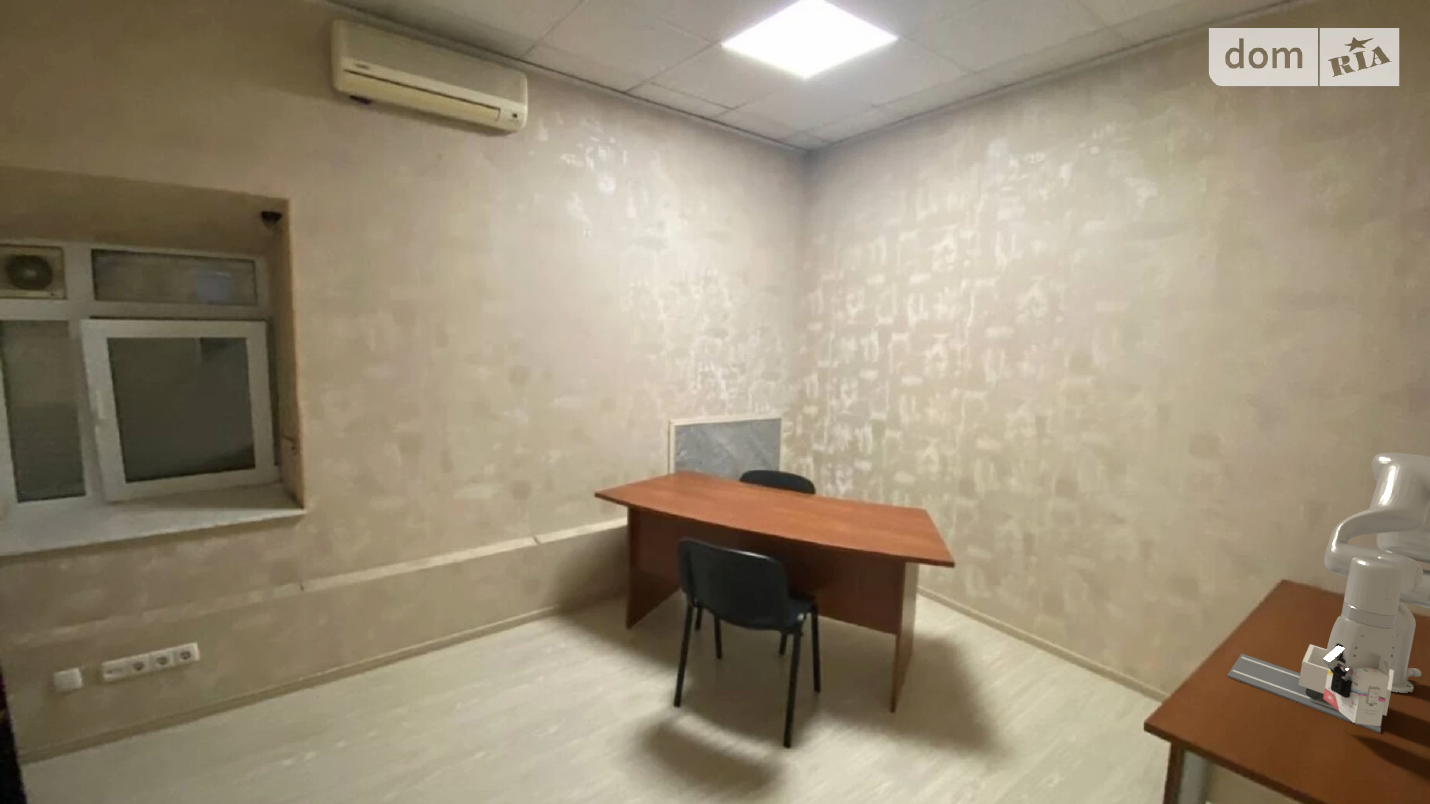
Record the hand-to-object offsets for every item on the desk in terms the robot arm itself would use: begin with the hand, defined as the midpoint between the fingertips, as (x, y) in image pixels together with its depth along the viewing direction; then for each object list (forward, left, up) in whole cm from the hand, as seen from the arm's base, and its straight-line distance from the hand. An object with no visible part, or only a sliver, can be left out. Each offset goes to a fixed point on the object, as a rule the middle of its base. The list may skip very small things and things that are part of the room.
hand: (1353, 693), depth 126 cm
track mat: (-9, -17, -10) cm, 21 cm away
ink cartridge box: (0, 0, -5) cm, 5 cm away
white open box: (-12, -12, -9) cm, 19 cm away
